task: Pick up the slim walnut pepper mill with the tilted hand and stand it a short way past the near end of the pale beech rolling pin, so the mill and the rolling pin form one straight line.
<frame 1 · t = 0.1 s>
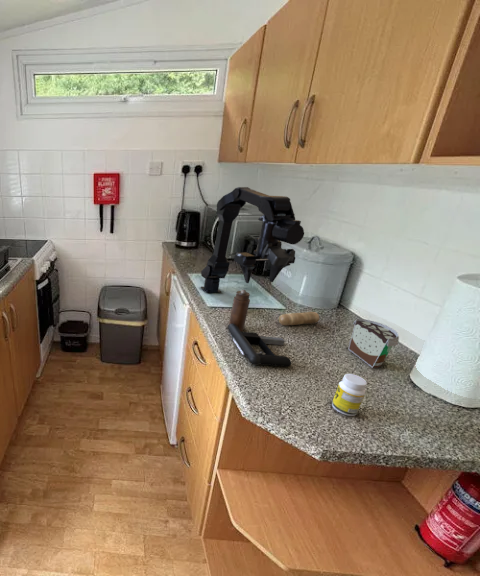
hand: (259, 282, 106), 15 cm above the countertop, tool pointing down, fingers open, 9 cm apart
food container: (370, 358, 91), on the countertop
door handle: (260, 349, 95), on the countertop
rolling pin: (297, 323, 110), on the countertop
pepper mill: (235, 328, 107), on the countertop
supplement bottle: (343, 409, 72), on the countertop
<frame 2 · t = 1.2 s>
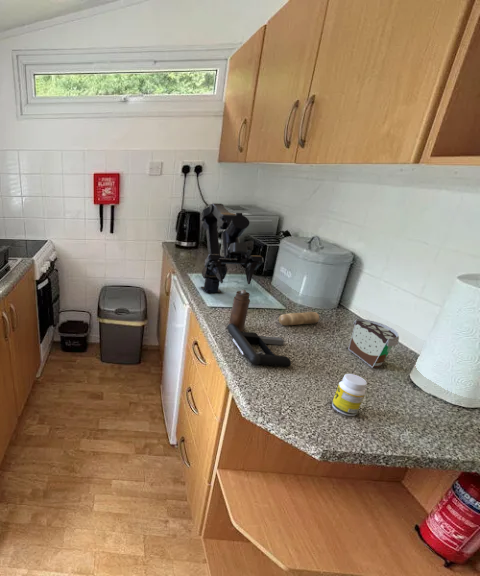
hand: (235, 283, 109), 13 cm above the countertop, tool tilted 45°, fingers open, 9 cm apart
nothing on the countertop moved.
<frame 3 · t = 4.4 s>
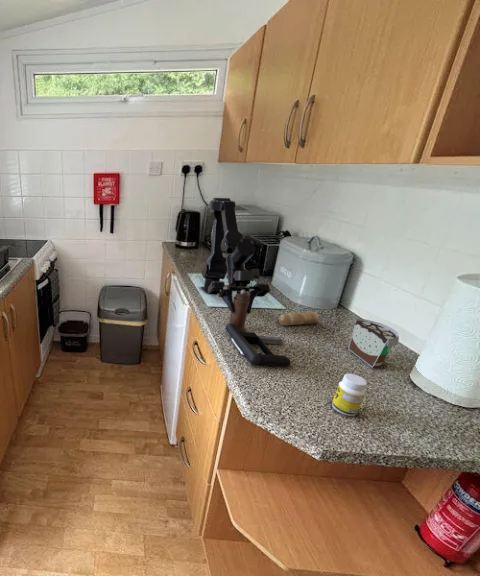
hand: (240, 312, 103), 7 cm above the countertop, tool tilted 45°, fingers closed on pepper mill, 5 cm apart
pepper mill: (235, 328, 107), on the countertop, touching gripper
everything else where it was.
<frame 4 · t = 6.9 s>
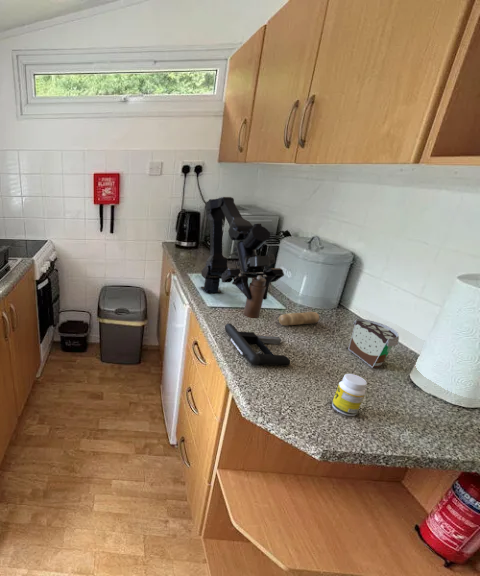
hand: (257, 299, 101), 11 cm above the countertop, tool tilted 45°, fingers closed on pepper mill, 5 cm apart
pepper mill: (251, 315, 105), point 5 cm above the countertop, touching gripper
everything else where it was.
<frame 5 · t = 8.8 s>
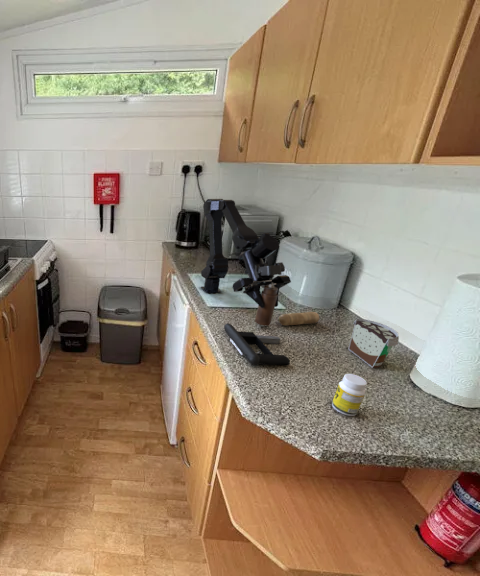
hand: (269, 307, 104), 8 cm above the countertop, tool tilted 45°, fingers closed on pepper mill, 5 cm apart
pepper mill: (262, 322, 108), point 2 cm above the countertop, touching gripper
everything else where it was.
when the fingers open (7 cm above the countertop, at t = 9.8 s): pepper mill stays where it is, on the countertop.
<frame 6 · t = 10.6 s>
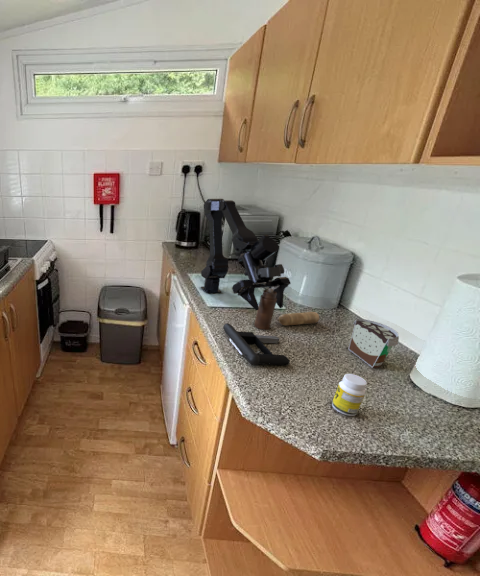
hand: (269, 308, 104), 7 cm above the countertop, tool tilted 45°, fingers open, 9 cm apart
pepper mill: (261, 326, 108), on the countertop
everything else where it was.
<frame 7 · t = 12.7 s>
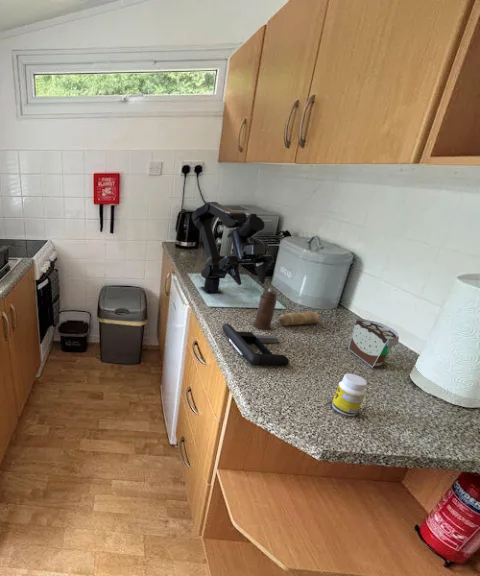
hand: (251, 284, 111), 13 cm above the countertop, tool tilted 40°, fingers open, 9 cm apart
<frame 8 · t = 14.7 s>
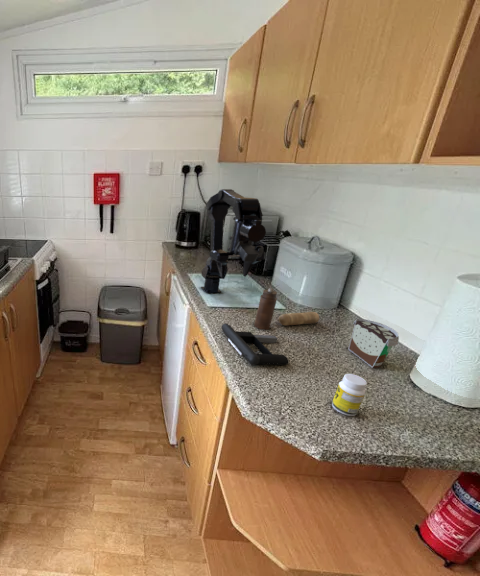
hand: (233, 276, 116), 13 cm above the countertop, tool pointing down, fingers open, 9 cm apart
at the end: pepper mill 0.2 cm from the target spot on the countertop beside the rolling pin, on the countertop; pepper mill tilted 0°; the gripper is holding nothing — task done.
